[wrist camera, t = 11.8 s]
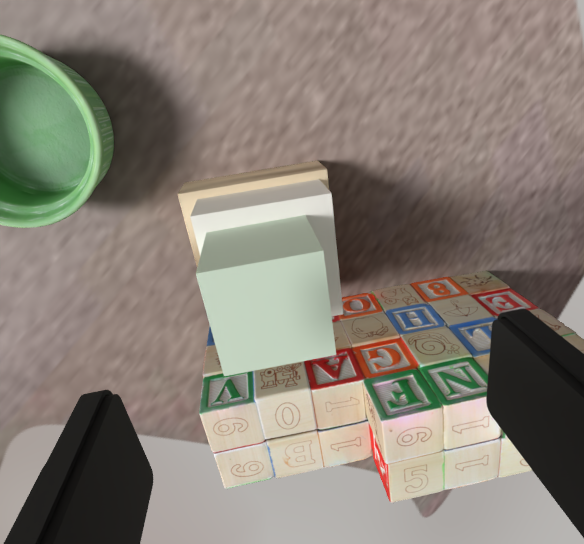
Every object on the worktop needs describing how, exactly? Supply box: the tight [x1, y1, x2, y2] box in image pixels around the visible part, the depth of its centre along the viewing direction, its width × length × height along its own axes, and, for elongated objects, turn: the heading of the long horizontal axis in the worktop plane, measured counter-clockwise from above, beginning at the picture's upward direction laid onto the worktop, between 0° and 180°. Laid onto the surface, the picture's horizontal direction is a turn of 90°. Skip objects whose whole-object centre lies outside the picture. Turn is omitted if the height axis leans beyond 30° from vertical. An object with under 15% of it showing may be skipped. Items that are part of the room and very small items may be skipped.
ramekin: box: [0, 35, 114, 228], centre depth 21 cm, size 9×9×4 cm
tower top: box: [190, 179, 343, 316], centre depth 23 cm, size 7×7×4 cm
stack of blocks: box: [199, 271, 584, 502], centre depth 26 cm, size 21×6×12 cm, turn 98°
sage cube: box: [196, 215, 336, 376], centre depth 19 cm, size 5×5×5 cm
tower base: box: [178, 160, 329, 267], centre depth 26 cm, size 8×8×4 cm
